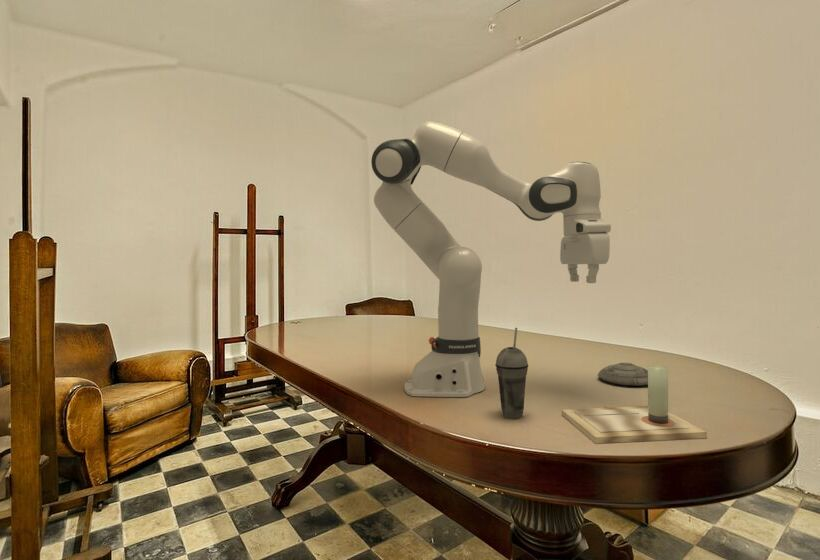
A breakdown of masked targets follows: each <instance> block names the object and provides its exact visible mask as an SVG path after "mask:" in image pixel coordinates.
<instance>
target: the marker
mask: <svg viewBox="0 0 820 560" xmlns="http://www.w3.org/2000/svg"><path fill="white" fill-rule="evenodd" d="M647 370H648V384H647V406H648V420H649V421H651V422H653V423H658V424H666V423H668V412H669V368H668V367H666V366H663V365H648V366H647Z"/></svg>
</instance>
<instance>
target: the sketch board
mask: <svg viewBox="0 0 820 560" xmlns="http://www.w3.org/2000/svg"><path fill="white" fill-rule="evenodd" d="M561 416H562V417H564V418H565V419H566V420H567V421H568V422H569V423H571V424H572V425H573V426H574V427H575V428H577V429H578V430H579V431H580V432H581V433H583V435H584V436H586V437H587V438H588V439H589V440H591V441H592V442H593V443H595V444H613V443H616V444H617V443H632V442H633V443H634V442H653V441H656V442H657V441H674V440H692V439H693V440H694V439H695V440H696V439H708V432H707V431H706V430H704V429H702V428H700V427H698V426H696V425H694V424H692V423H690V422H689V421H687V420H684V419H682V418H681V417H679V416H677V415H675V414H674V413H671V412H669V411H668V423H666V424H658V423H653V422H651V421H649V420H648V405H637V406H618V407H617V406H616V407H595V408H592V407H591V408H574V409H573V408H572V409H570V408H569V409H561Z"/></svg>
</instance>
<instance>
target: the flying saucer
mask: <svg viewBox="0 0 820 560" xmlns="http://www.w3.org/2000/svg"><path fill="white" fill-rule="evenodd" d="M597 377H598V378H600V379H601V380H603V381H605V382H607V383H611V384H615V385H622V386H631V387H632V386H638V387H639V386H648V369H646V368H645V367H642V366H640V365H639V366H638V365H637V364H634V363H630V362H618V363H615V364H610V365H607V366H605V367H604V368H602V369H600V371H598V373H597Z"/></svg>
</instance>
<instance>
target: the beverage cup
mask: <svg viewBox="0 0 820 560" xmlns="http://www.w3.org/2000/svg"><path fill="white" fill-rule="evenodd" d="M517 334H518V327H515V328H514V336H513V346H508V347H505V348H503V349H502V350H501V351H500V352H499V353H498V355H497V356H496V359H495V368H496V374H497V378H498V379H497V380H498V386H499V387H498V389H499V398H500V399H499V400H500V407H501V413H502V415H501V416H502V417H503V418H505V419H509V420H520V419H522V418H523V416H524V410H525V399H526V398H525V397H526V396H525V394H526V382H527V374H528V367H529V362H528V359H527V356H526V355H525V353H524V352H523V351H522V350H521V349H519V348H518V347H516V346H517V345H516V344H517V337H518V335H517Z"/></svg>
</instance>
